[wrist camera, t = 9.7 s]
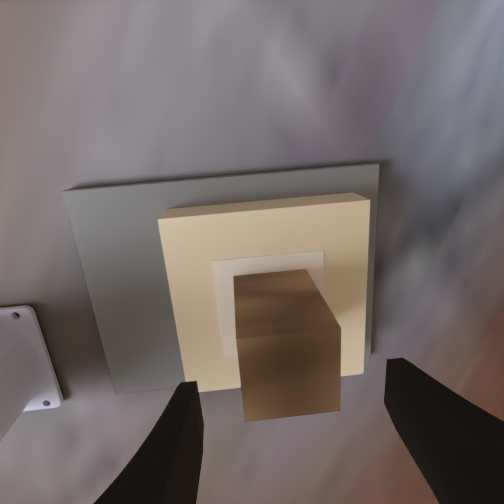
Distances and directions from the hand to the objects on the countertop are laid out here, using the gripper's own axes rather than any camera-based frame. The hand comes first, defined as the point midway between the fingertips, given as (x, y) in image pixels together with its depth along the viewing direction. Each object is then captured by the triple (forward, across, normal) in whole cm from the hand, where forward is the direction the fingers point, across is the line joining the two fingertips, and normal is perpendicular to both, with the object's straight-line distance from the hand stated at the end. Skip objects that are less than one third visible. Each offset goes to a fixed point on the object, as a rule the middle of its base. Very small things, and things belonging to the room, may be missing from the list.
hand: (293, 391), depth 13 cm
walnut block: (+7, 0, 0) cm, 7 cm away
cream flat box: (+10, +2, 0) cm, 11 cm away
